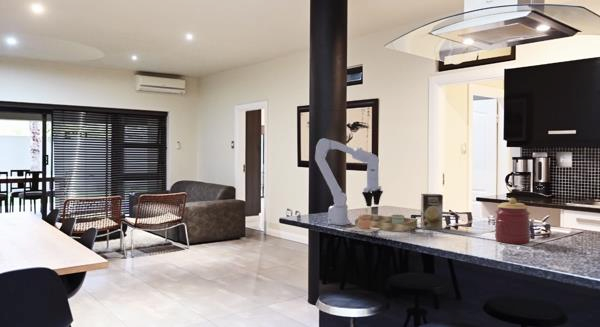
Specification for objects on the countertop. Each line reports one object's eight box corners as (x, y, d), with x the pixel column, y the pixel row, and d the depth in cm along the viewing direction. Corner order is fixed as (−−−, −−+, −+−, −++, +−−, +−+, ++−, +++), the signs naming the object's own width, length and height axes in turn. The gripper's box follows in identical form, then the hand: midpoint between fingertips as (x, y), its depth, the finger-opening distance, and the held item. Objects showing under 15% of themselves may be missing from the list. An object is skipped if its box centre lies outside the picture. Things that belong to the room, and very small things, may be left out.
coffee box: (422, 229, 216) (422, 195, 216) (420, 227, 223) (420, 193, 222) (442, 229, 215) (442, 195, 215) (440, 227, 222) (440, 193, 221)
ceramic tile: (347, 229, 216) (347, 228, 216) (357, 227, 224) (357, 225, 224) (370, 232, 209) (370, 231, 209) (380, 229, 216) (380, 228, 216)
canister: (515, 245, 179) (515, 200, 178) (488, 240, 191) (488, 197, 190) (537, 242, 185) (537, 198, 184) (509, 236, 197) (509, 195, 196)
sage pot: (389, 228, 219) (389, 215, 219) (394, 226, 224) (394, 214, 224) (400, 229, 216) (400, 216, 215) (406, 228, 220) (406, 215, 220)
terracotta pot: (356, 228, 216) (355, 215, 216) (362, 226, 221) (362, 213, 221) (367, 229, 212) (367, 216, 212) (373, 228, 217) (373, 214, 217)
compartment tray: (355, 226, 226) (354, 218, 226) (370, 222, 238) (370, 214, 238) (403, 231, 210) (403, 223, 210) (417, 227, 222) (417, 218, 222)
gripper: (372, 179, 222) (372, 207, 223) (386, 177, 234) (386, 204, 234) (359, 179, 227) (360, 206, 227) (374, 177, 238) (374, 203, 239)
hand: (372, 205), depth 231 cm, fingers open, 7 cm apart
